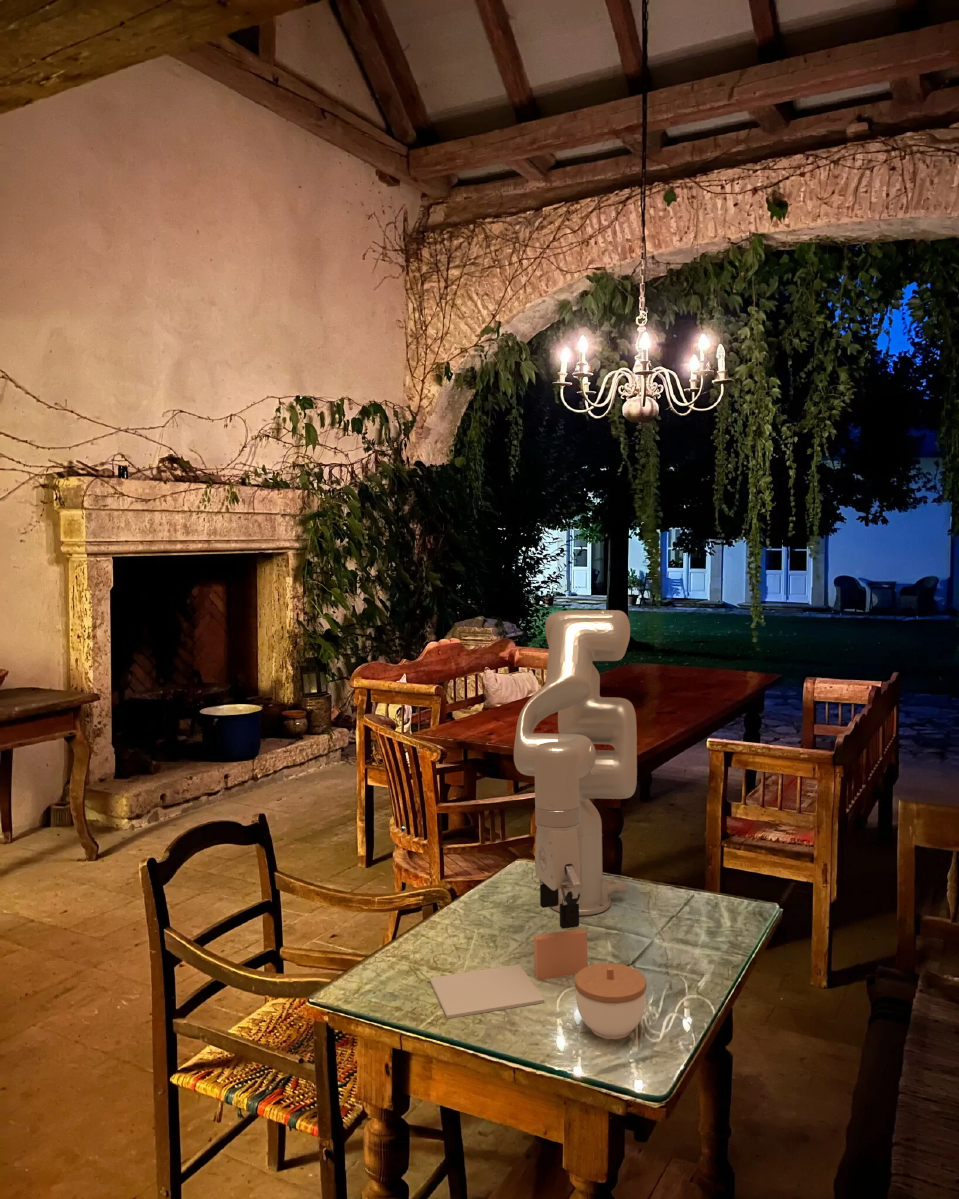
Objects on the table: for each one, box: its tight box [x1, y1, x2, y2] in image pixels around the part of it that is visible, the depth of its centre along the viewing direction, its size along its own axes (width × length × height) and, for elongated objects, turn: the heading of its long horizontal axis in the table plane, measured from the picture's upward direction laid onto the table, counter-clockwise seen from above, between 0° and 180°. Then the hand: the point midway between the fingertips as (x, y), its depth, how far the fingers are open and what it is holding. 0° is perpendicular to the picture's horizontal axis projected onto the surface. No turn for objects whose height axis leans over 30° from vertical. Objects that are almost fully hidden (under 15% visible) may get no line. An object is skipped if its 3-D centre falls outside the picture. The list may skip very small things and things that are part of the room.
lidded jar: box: [574, 962, 647, 1040], centre depth 139 cm, size 11×11×9 cm
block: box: [533, 928, 588, 981], centre depth 157 cm, size 9×2×7 cm, turn 105°
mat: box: [429, 964, 545, 1019], centre depth 151 cm, size 16×13×1 cm
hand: (559, 916), depth 155 cm, fingers open, 9 cm apart
